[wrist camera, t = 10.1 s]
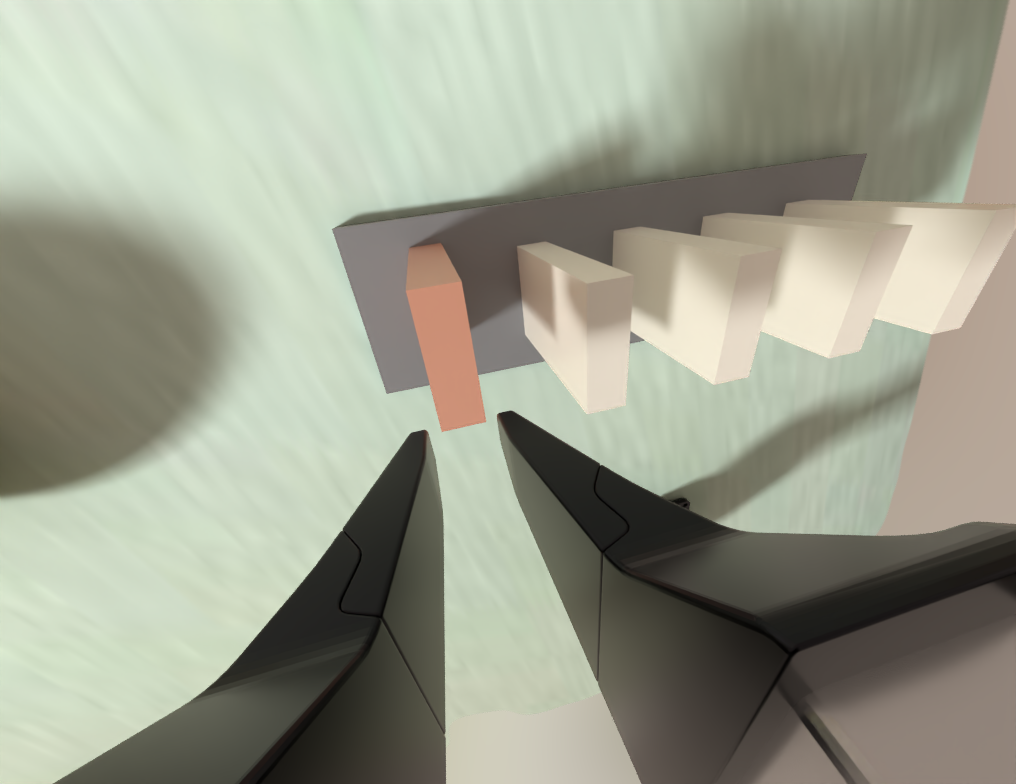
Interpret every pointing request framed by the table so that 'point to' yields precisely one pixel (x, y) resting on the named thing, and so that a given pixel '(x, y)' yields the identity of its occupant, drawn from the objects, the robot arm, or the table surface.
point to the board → (560, 221)
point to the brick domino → (444, 336)
